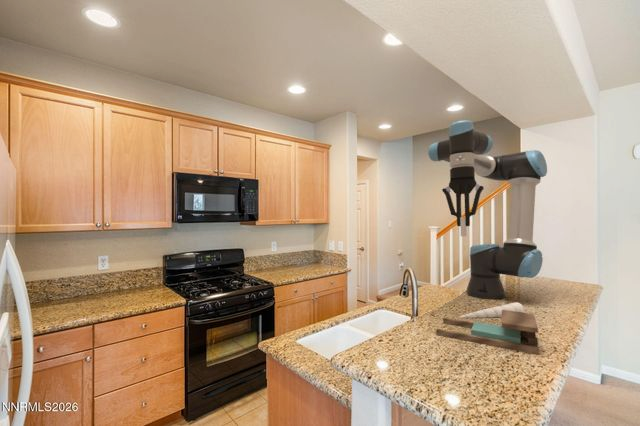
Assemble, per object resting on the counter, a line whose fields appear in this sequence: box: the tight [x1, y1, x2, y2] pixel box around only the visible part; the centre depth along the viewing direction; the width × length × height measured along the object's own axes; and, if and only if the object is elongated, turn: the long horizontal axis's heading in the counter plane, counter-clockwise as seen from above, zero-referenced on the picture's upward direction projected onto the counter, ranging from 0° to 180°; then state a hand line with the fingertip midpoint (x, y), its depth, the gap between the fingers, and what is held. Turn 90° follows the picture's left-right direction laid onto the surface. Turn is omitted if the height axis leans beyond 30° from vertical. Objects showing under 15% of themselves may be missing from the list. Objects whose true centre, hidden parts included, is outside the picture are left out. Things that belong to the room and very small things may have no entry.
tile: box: [470, 321, 522, 344], centre depth 85 cm, size 12×8×3 cm, turn 54°
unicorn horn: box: [458, 301, 525, 319], centre depth 104 cm, size 5×24×5 cm, turn 92°
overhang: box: [436, 310, 540, 356], centre depth 87 cm, size 25×14×7 cm, turn 57°
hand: (463, 236), depth 98 cm, fingers closed
